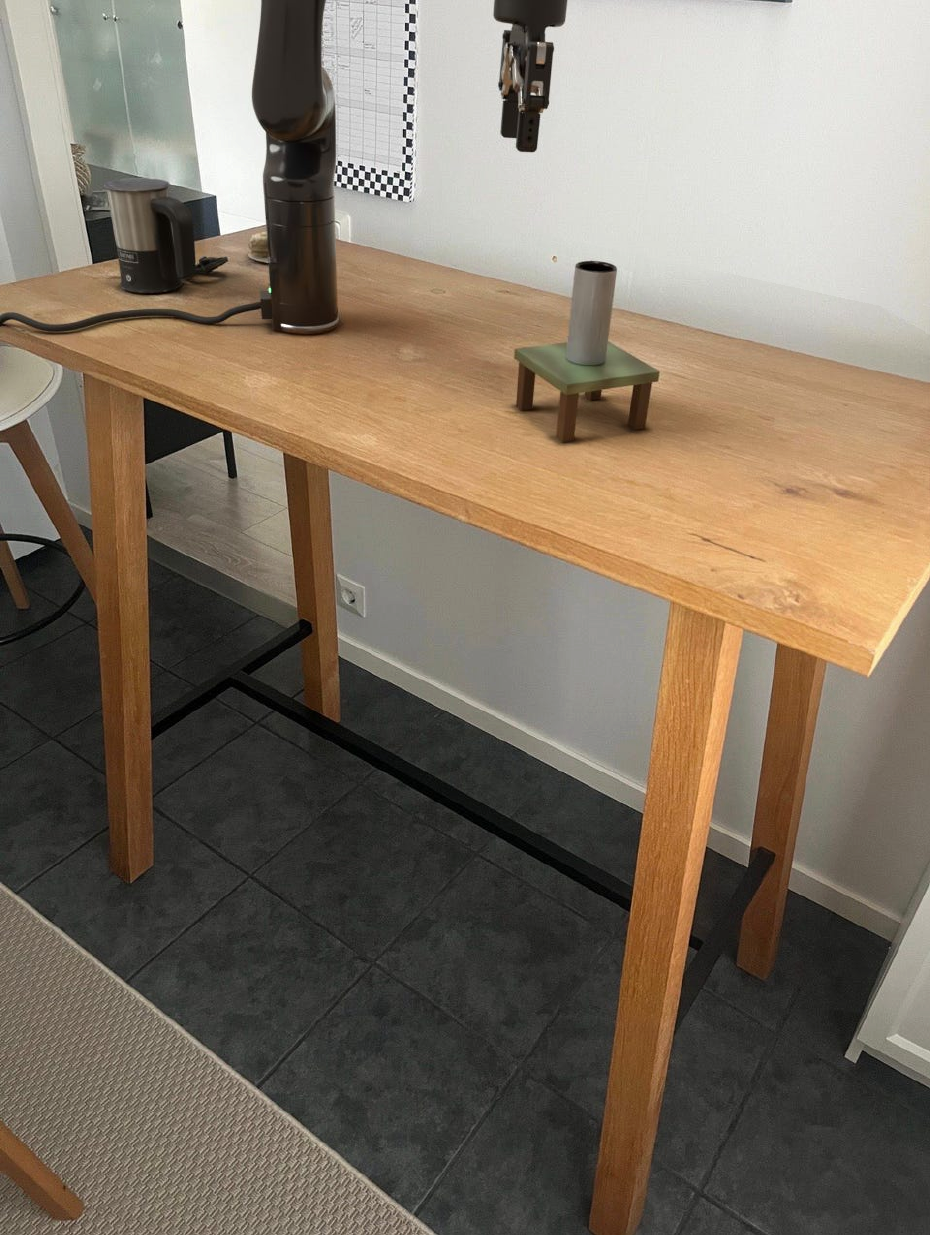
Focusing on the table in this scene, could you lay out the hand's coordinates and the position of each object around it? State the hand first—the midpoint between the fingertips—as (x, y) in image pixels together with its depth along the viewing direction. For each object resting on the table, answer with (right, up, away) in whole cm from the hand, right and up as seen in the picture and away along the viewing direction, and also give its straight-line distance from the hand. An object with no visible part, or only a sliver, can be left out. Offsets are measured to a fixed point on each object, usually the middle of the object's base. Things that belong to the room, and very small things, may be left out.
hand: (517, 144), depth 109 cm
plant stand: (+8, -29, +7) cm, 31 cm away
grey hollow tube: (+8, -23, +3) cm, 25 cm away
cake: (-38, +9, +59) cm, 71 cm away
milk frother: (-51, 0, +45) cm, 68 cm away
